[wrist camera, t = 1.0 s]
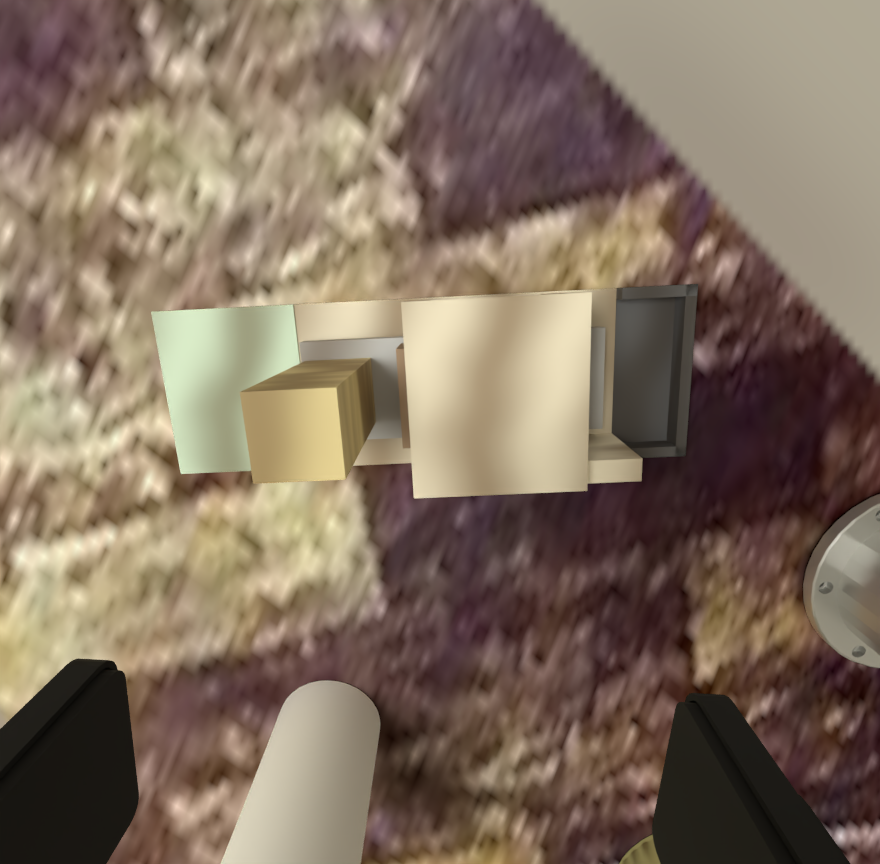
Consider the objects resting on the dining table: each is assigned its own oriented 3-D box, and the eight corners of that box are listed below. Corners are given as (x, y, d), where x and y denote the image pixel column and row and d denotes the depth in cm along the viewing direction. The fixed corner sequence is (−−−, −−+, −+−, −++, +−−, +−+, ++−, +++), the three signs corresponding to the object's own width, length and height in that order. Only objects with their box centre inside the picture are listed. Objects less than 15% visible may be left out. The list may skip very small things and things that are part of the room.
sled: (599, 326, 29) (684, 343, 19) (596, 424, 31) (674, 489, 20) (304, 340, 29) (230, 365, 19) (315, 436, 31) (251, 507, 21)
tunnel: (685, 284, 29) (751, 281, 23) (674, 448, 32) (731, 486, 26) (156, 311, 30) (80, 315, 24) (185, 470, 32) (123, 513, 26)
